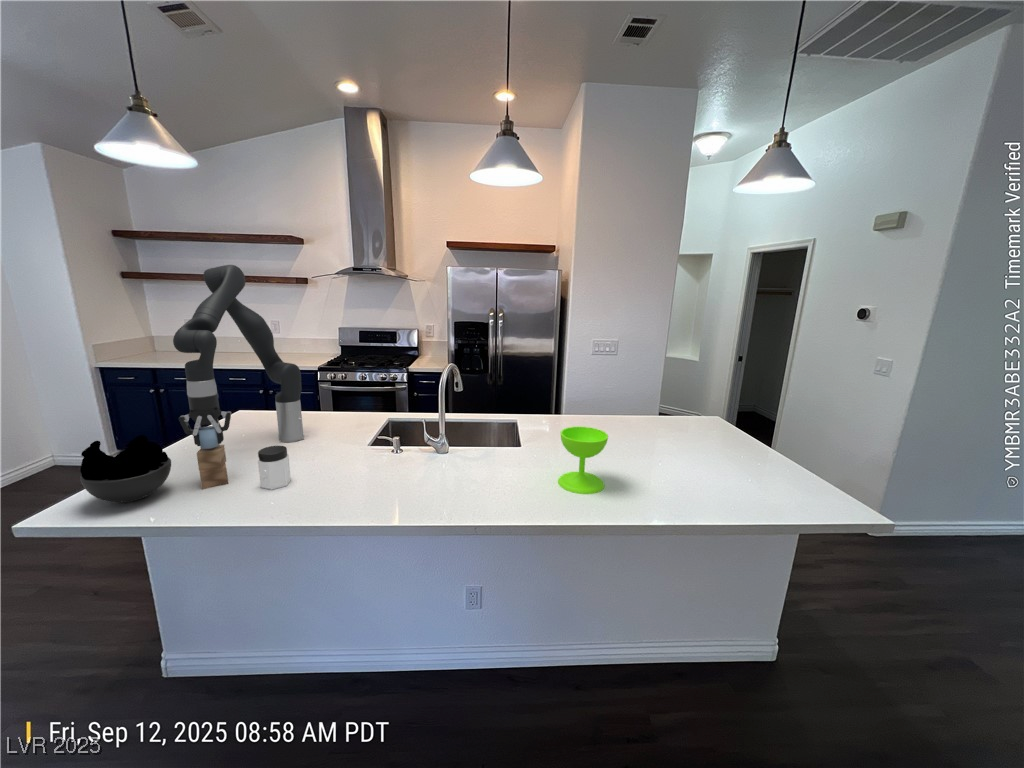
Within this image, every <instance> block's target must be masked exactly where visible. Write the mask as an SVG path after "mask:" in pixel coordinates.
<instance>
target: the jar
mask: <svg viewBox="0 0 1024 768" xmlns="http://www.w3.org/2000/svg"><path fill="white" fill-rule="evenodd" d="M287 448H288V447H286V446H284V445H271V446H267V447H263V448H261V449H260V450H258V453H257V454H258V455H257V457H258V460H257V466H258V467H257V468H258V474H259V482H260V483H259V484H260V488H261V489H266V490H271V491H273V490H276V489H280V488H283V487H286V486H288V485H289V483H290V482H291V480H292V477H291V476H292V475H291V466H290V456H289V453H288V449H287Z"/></svg>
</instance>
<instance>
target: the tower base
mask: <svg viewBox="0 0 1024 768" xmlns="http://www.w3.org/2000/svg"><path fill="white" fill-rule="evenodd" d="M227 470H228V469H227V464H226V462H225V464H224V465H223V467H222V468H220V469H210V470H201V471H199V470H198V471H199V478H200V484H201V490H206V489H211V488H216V487H220V486H225V485H229V477H228V471H227Z"/></svg>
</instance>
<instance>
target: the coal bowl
mask: <svg viewBox="0 0 1024 768" xmlns="http://www.w3.org/2000/svg"><path fill="white" fill-rule="evenodd" d="M101 445H102V444H101V441H100V440H94V441H93V442H91V443H90V445H89V446H87V447H86V448H85V449H84V450H82V452H81V454H80V456H81V457H83V459H81V465H80V474H81V475H80V476H79V481H80V483H81V485H82V486H83V488H84V489H85V491H87V492H88V493H89V494H90V495H91V496H93V497H94V498H97V500H101V501H104V502H110V503H119V504H120V503H130V502H134V501H138V500H141V499H143V498H146V497H148V496H150V495H151V494H153V493H154V492H156V491H157V490H158V489H160V488H161V487H162V486H163V484H164V483H165V482H166V480H167V479H168V478H169V475H170V474H171V473H170V472H171V468H172V459H171V458H170V457H169V456H168V454H167V451H164V450H163V448H162V447H161V445H160V444H158V443H157V442H156V443H155V442H153V441H150V440H149V439H148V436H146V435H143V434H142V435H138V436H136V437H135V438H134V439H132V440H130V441H129V443H127V444H126V445H125V447H126V448H124V449H123V450H120V451H119V452H118V453H117V454H116V455H115V456H114V455H109V454H107V453H106V452H105V451H103V450H101Z"/></svg>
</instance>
